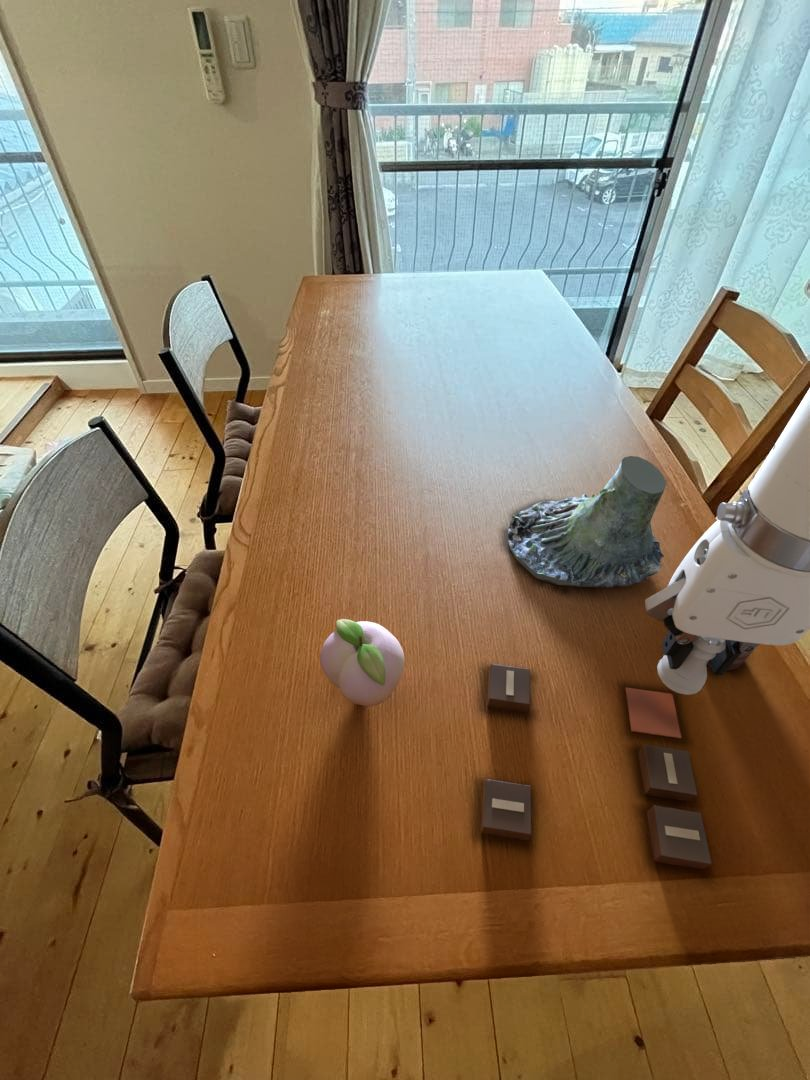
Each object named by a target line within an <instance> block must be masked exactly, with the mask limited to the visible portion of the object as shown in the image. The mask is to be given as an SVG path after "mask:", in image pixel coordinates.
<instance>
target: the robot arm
mask: <svg viewBox="0 0 810 1080" xmlns="http://www.w3.org/2000/svg"><path fill="white" fill-rule="evenodd" d="M716 517H717V520H716V521H715V522H714V523H712V525H711V526H709V528H707V530H706V531H705V532H704V533H703V534H702V535H701V536H700V538H699V539H698V540H697V541H696V542H695V544H694V545H693V546H692V547H691V549H690V550H688V552H687V553H686V555H685V557H684V558H683V559H682V561H681V562H680V563H679V565H678V567H677V568H676V570H675V571H674V573H673V575H672V577H671V578H670V580H669V582H668V585H667V587H664V588H663V589H661V590H660V591H658V592H656V593H654V594H652V595H651V596H649V597H648V598H646V599H645V600H644V601H643V603H644V606H645V607H644V608H645V613H646V615H647V616H649V617H651V618H653V619H654V620H656V621H658V622H661V623H663V625H664V627H665V628H666V629H667V630H668V632H667V634H666V635H665V636H664V638H663V640H662V643H661V648H662V655H663V656H664V655H667V658H668V663H669V667H670V669H675V670H677V669H678V668H680V666H681V665H682V664H683V662H684V661H685V659H686V658H687V657H688V655H689V654H690V653H691V651H692V650H693V643H692V640H693V639H694V638H695V637H696V636H697V635H698V636H704V637H711V638H718V639H725V640H726V647H725V649H724V650H723V651H722V652H720V653H716V656H715V657H714V658H713V659H710V664H711V667H710V668H711V671H712V673H713V674H714V675H715V676H721V677H722V676H723V675H724V674H725V673H726V672H727V671H728V670H727V669H728V668H729V667H730V666H731V665H732V663H733V662H734V661H735V660H736V659H737V658H738V657H739V655H740V654H741V653H742V652H743V653H749V652H752V651H753V652H754V651H755V650H756V649H757V647H758V646H759V645H767V646H789V645H793V644H795V643H797V642H798V641H799V640H800V639H802V638H803V637H804V636H805V635H806V634H807V633H808V632H809V631H810V388H809V389H808V390H807V392H806V393H805V395H804V396H803V398H802V400H801V401H800V403H799V405H798V406H797V408H796V409H795V411H794V413H793V414H792V416H791V417H790V419H789V420H788V422H787V424H786V426H785V427H784V429H783V430H782V432H781V433H780V435H779V437H778V438H777V440H776V442H775V443H774V445H773V447H772V448H771V450H770V451H769V453H768V454H767V456H766V458H765V459H764V461H763V462H762V464H761V466H760V467H759V469H758V471H757V472H756V474H755V475H754V477H753V478H752V479H751V481H750V484H749V485H748V487H747V488H745V489H744V490H743V492H742V493H741V495H740V497H739V498H738V499H737V500H736V501H732V502H721V503H719V505H718V507H717V510H716ZM758 644H759V645H758ZM757 645H758V646H757ZM753 652H752V653H753Z"/></svg>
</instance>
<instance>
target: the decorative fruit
mask: <svg viewBox="0 0 810 1080" xmlns="http://www.w3.org/2000/svg"><path fill="white" fill-rule="evenodd" d="M319 665H320V667H321V670H322V672H323V674H324V675H325V677H326V678H327V679H328V680H329V682H330V683H331V684H332V685H333V686H334V687H336V688H338V689H339V690H340V692H341V694H342V695H343V697H344V698H345V699H347V700H348V701H350V702H352V703H353V704H356V705H359V706H364V707H371V706H376V705H380V704H381V703H384V702H385V701H386V700H388V699H389V698H390V697H391V695H392V694H393V693H394V692H395V690H396V688H397V687H398V685H399V683H400V681H401V679H402V676H403V673H404V670H405V655H404V651H403V648H402V645H401V643H400V642H399V641H398V639H397V638H396V637H395V636H394V634H393V633H391V631H389V630H388V629H386V628H385V627H384V626H382V625H381V624H379V623H377V622H373V621H372V622H371V621H366V620H365V621H364V620H360V621H354V620H352V619H347V618H340V619H337V620H336V622H335V630H334V631H333V632H332V633H331V634H330V635H329V636H328V637H327V638H326V640H325V641H324V643H323V644H322V647H321V649H320V653H319Z"/></svg>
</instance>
